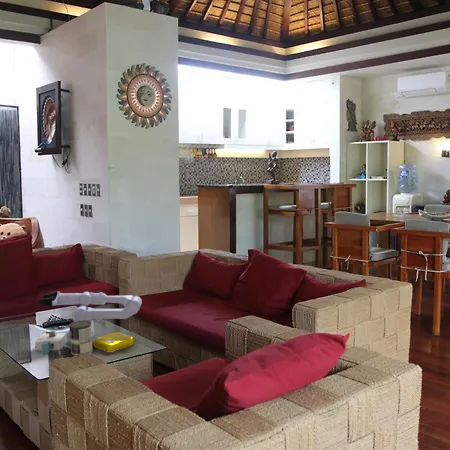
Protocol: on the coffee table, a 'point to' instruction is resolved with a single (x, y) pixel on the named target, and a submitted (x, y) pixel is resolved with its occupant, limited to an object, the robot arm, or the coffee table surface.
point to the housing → (52, 341)
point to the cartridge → (46, 347)
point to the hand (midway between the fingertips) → (41, 299)
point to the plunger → (51, 333)
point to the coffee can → (80, 337)
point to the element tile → (113, 341)
